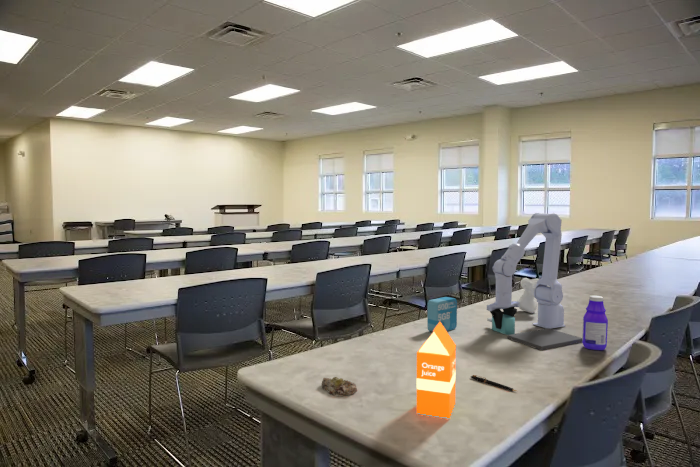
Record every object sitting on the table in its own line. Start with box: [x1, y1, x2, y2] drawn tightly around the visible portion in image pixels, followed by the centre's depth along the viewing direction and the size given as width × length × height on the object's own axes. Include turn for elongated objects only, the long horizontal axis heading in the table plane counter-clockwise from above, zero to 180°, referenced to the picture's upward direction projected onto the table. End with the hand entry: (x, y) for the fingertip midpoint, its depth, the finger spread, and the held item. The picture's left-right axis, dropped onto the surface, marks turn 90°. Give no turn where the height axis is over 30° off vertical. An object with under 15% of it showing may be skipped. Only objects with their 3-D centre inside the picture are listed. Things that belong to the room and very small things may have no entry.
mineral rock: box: [321, 376, 358, 397], centre depth 123 cm, size 11×4×8 cm
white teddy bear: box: [516, 277, 541, 314], centre depth 205 cm, size 10×11×15 cm
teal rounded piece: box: [487, 314, 516, 336], centre depth 177 cm, size 4×12×6 cm, turn 26°
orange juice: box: [416, 322, 457, 419], centre depth 110 cm, size 8×9×20 cm
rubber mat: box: [507, 328, 582, 351], centre depth 165 cm, size 20×15×1 cm
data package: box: [426, 296, 458, 333], centre depth 178 cm, size 12×4×12 cm, turn 129°
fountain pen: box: [470, 374, 518, 392], centre depth 125 cm, size 14×1×2 cm, turn 42°
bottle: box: [581, 294, 609, 351], centre depth 155 cm, size 7×6×17 cm
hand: (503, 327), depth 176 cm, fingers closed on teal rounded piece, 4 cm apart
